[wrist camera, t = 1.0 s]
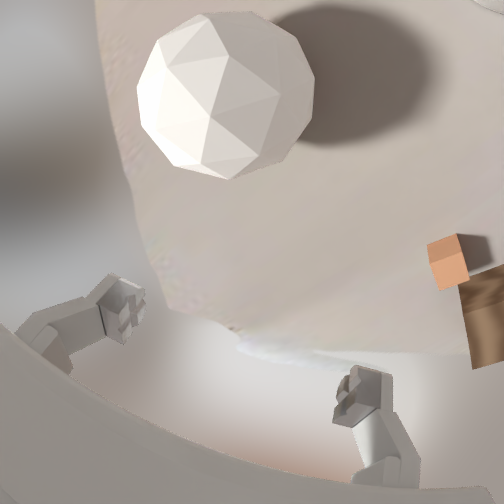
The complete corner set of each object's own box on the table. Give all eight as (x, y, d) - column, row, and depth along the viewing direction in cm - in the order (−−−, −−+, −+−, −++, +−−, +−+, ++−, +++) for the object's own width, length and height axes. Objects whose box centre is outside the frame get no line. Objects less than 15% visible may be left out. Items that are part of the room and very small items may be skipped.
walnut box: (528, 253, 32) (545, 284, 26) (531, 314, 35) (541, 346, 29) (456, 280, 40) (462, 314, 34) (469, 335, 44) (472, 369, 38)
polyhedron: (244, 88, 45) (120, 80, 34) (321, 9, 28) (163, -37, 17) (270, 196, 43) (127, 206, 33) (380, 135, 26) (176, 105, 16)
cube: (456, 233, 36) (461, 251, 33) (464, 259, 38) (469, 279, 34) (426, 244, 40) (429, 263, 36) (436, 270, 41) (439, 290, 37)
